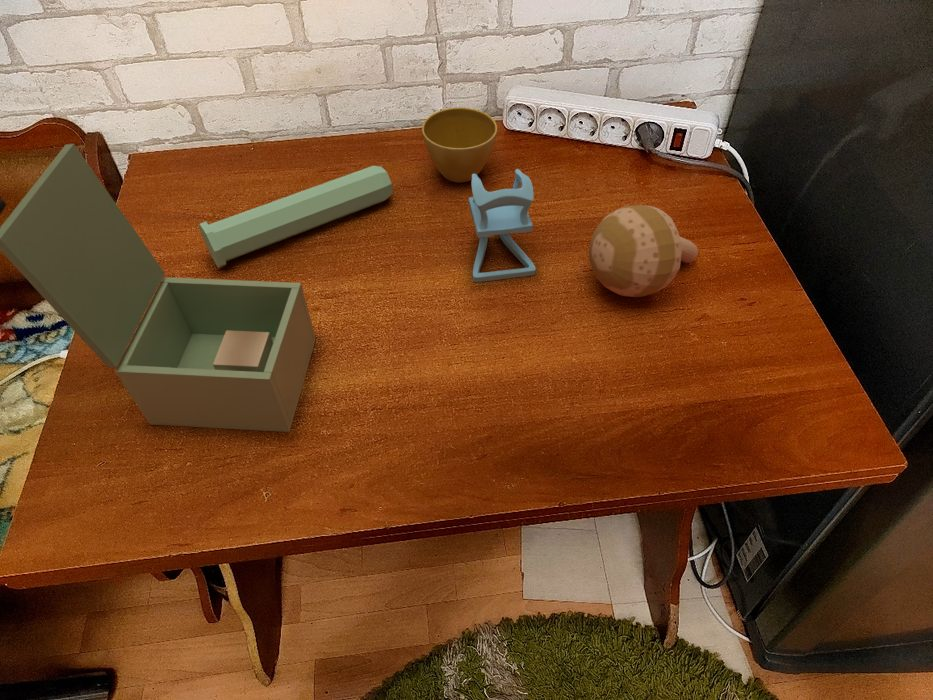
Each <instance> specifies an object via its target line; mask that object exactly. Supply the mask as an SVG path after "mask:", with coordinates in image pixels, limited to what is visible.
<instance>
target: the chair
mask: <svg viewBox="0 0 933 700" xmlns="http://www.w3.org/2000/svg"><path fill="white" fill-rule="evenodd" d="M514 177H515V178H514V180H513V184H512V188H502V189H497V190H493V191H487V189H486V188H485V187H484V185H483V182H482V180H481V178H480V177H479V176H478V175H476V174H472V180H471V182H470V183H471V193H472V196H470V197H468V205H469V210H470V214H471V218H472V221H473V225H474V228H475V233H476V237H477V238H479V242H478V247H477V252H476V256H475V259H474V263H473V268H472V281H473V282H474V283H484V282H492V281H498V280H507V279H517V278H524V277H525V278H526V277H532V276H535V275H536V270H537V267H536V265H535V264H534V262H533V261H532V259H531V258H530V257H529V256H528V255H527V254H526V252H524V251H523V249H522V248H521V247H520V245H518V243H516V241H515V240H514V239H513V238H512V236H511V235H510V234H523V233H531V232H533V230H534V229H533V228H534V227H533V226H534V225H533V222H532V219H531V217H530V214H529V209H530V207H531V205H532V203H533V201H534V198H535V196H534V186H533V183H532V180H531V179H530V177H529V176H528V175H527V174H525V173H523V172H522V171H521V170H520V169H519V168H516V169H515V171H514ZM520 186H521V187H520ZM498 235H499V239H500V240H501V242H502V243H503V244H504V246H505V247H506V248H507V249H508V250H509V252H511V253H512V254H513V255H514V257H516V259H517V260H518V261H519V262H520V263H521V264H522V265H523V266H524V267H522V268H512V269H503V270H495V271H494V270H493V271H487V272H486V271H485V272H481V269H482V265H483V262H484V258H485V256H486V252H487V247H488V241H489V237H492V236H493V237H494V236H498Z"/></svg>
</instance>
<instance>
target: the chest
mask: <svg viewBox="0 0 933 700" xmlns="http://www.w3.org/2000/svg"><path fill="white" fill-rule="evenodd" d="M226 330H229V331H252V332H269V333H270V335H271V338H272V341H273V345H272V348H271V351H270V354H269V357H268V360H267V363H266V366H265V369H264V372H249V371H229V370H215V368H214V366H213V362H214V360H215V357H216V355H217V352H218V350H219V347H220V345H221V342H222V340H223V337H224V335H225V332H226ZM316 340H317V337H316V333H315V330H314V326H313V323H312V319H311V315H310V311H309V308H308V305H307V301H306V296H305V292H304V289H303V286H302V283H301V282H288V281H269V280H268V281H265V280H242V279H241V280H240V279H221V278H219V279H218V278H217V279H216V278H199V277H198V278H195V277H194V278H193V277H176V276H175V277H173V276H172V277H171V276H163V278H162V280H161V282H160V284H159V286H158V287H157V289H156V291H155V293H154V295H153V297H152V299H151V301H150V303H149V305H148V307H147V309H146V311H145V313H144V315H143V317H142V318H141V320H140V322H139V324H138V326H137V328H136V330H135V332H134V334H133V336H132V338H131V340H130V342H129V344H128V346H127V348H126V350H125V351H124V353H123V355H122V357H121V359H120V361H119V363H118V365H117V367H116V368H115V370H114V372H115V374H116V376H117V377H118V379H119V380H120V382H121V383H122V384H123V386H124V388H125V390H126V391H127V393H128V394H129V395H130V397H131V399H132V400H133V401H134V403H135V405H136V406H137V407H138V409H139V411H140V412H141V414H142V416H143V417H144V418H145V420H146V421H147V423H148V424H149V425H151V426H152V425H153V426H171V427H187V428H188V427H190V428H204V429H205V428H206V429H207V428H209V429H227V430H244V431H261V432H280V433H290V432H291V429H292V425H293V421H294V418H295V414H296V411H297V408H298V403H299V400H300V397H301V393H302V390H303V386H304V384H305V383H304V382H305V379H306V375H307V372H308V368H309V365H310V362H311V358H312V355H313V352H314V351H313V350H314V348H315V344H316V342H317V341H316Z"/></svg>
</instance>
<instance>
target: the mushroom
mask: <svg viewBox="0 0 933 700" xmlns="http://www.w3.org/2000/svg"><path fill="white" fill-rule="evenodd" d="M588 249H589V250H588V257H589V258H588V259H589V263H590V266H591V270H592V272H593V273H594V275H595V277H596V279H597V280H598V282H600V283H601V285H602V286H604V287H605V288H606V289H608V290H609V291H611V292H613V293H615V294H616V295H619V296H621V297H631V298H642V297H646V296H650V295H652V294H654V293H658V292H659V291H661V290H663V289H665V288H666V287H668V286H669V285H670V284H671V282H673V280H674V279H675V277H676V276H677V274H678V272H679V271H680V269H681V263H686V264H689V263H692V262H693V261H695V260H696V258H697V257H698V254H699V249H698V247H697V245H696V244H695V243H694V242H692V241H691V240H689V239H686V238H684V237H682V236H680V233H679V231H678V228H677V226H676V224H675V222H674V220H673V218H672V217H671V216H670V215H669V214H667V213H666V212H665V211H663V209H660V208H658V207H655V206H652V205H645V204H635V205H634V204H632V205H625V206H622V207H620V208H617V209H616V210H614V211H611V212H610V213H609V214H606V216H605V217H603V218H602V220H601V221H600V222H599V224H598V225H597V226H596V228H595V229H594V231H593V234H592V236H591V238H590V241H589V248H588Z"/></svg>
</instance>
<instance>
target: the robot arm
mask: <svg viewBox="0 0 933 700" xmlns="http://www.w3.org/2000/svg"><path fill="white" fill-rule="evenodd" d="M6 203H7V202H6V201H4V200H3V199H2V196H1V195H0V216H1V215H2V214H3V212H4V210H5V208H6V206H7V204H6Z"/></svg>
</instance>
